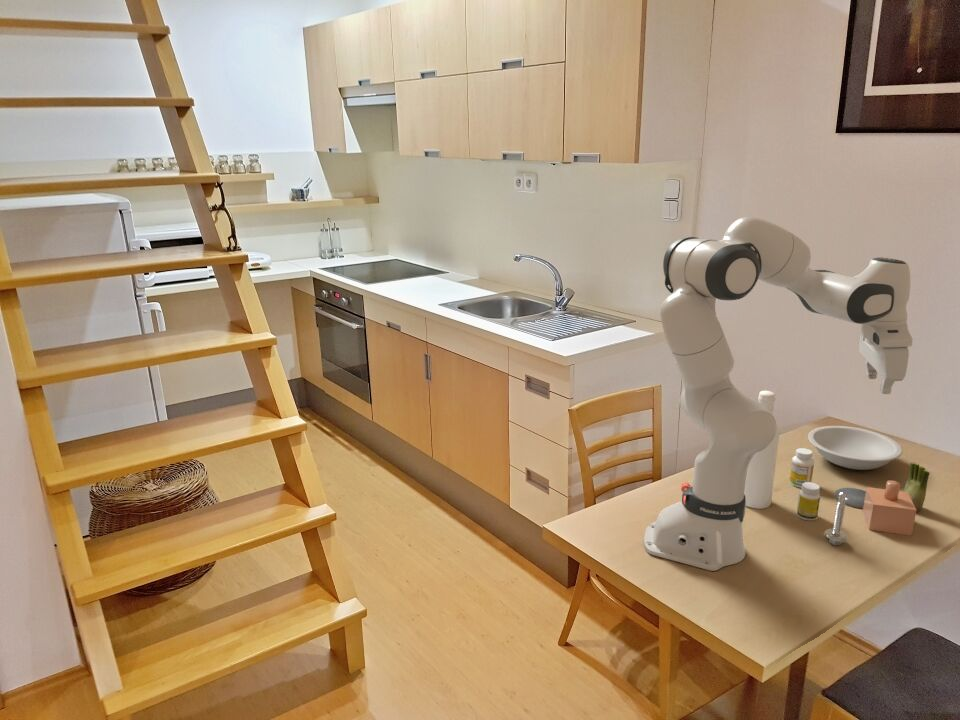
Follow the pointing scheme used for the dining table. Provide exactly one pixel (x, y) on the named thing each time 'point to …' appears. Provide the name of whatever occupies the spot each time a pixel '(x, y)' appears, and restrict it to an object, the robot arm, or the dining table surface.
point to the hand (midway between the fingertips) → (878, 385)
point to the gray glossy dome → (852, 497)
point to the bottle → (762, 465)
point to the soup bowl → (854, 447)
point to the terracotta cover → (889, 509)
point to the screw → (837, 523)
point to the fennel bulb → (917, 484)
